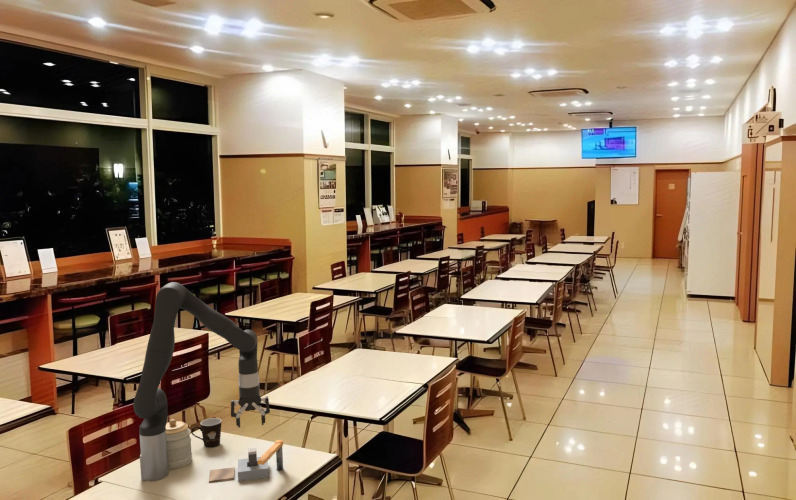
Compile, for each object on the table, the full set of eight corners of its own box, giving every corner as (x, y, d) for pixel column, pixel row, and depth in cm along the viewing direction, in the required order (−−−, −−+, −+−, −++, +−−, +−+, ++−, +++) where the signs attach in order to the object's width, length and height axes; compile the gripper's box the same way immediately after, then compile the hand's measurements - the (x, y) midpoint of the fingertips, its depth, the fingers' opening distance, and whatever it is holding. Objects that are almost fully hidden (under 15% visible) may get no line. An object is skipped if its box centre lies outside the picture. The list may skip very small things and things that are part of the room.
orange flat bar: (276, 443, 236) (276, 439, 236) (284, 443, 236) (284, 440, 235) (256, 464, 219) (256, 460, 218) (264, 464, 218) (264, 461, 218)
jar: (193, 466, 239) (190, 422, 238) (157, 472, 235) (154, 427, 233) (191, 453, 252) (189, 411, 250) (157, 458, 247) (154, 416, 245)
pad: (208, 482, 226) (208, 480, 226) (210, 471, 234) (210, 470, 234) (234, 479, 228) (234, 477, 228) (234, 468, 237) (234, 467, 236)
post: (276, 471, 234) (276, 447, 233) (276, 468, 236) (275, 444, 235) (283, 470, 234) (282, 446, 233) (282, 467, 237) (282, 444, 236)
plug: (249, 475, 231) (248, 452, 230) (249, 471, 234) (248, 448, 233) (257, 474, 232) (256, 451, 231) (257, 470, 235) (256, 447, 234)
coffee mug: (225, 440, 263) (224, 418, 262) (218, 449, 255) (216, 426, 254) (199, 440, 264) (198, 417, 263) (191, 448, 256) (189, 425, 255)
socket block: (238, 481, 226) (237, 472, 226) (238, 468, 237) (238, 459, 237) (268, 477, 229) (268, 468, 229) (267, 464, 240) (267, 456, 239)
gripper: (229, 388, 224) (231, 431, 226) (268, 384, 227) (270, 427, 229) (229, 382, 231) (231, 424, 233) (268, 378, 235) (270, 419, 236)
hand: (251, 425), depth 231 cm, fingers open, 8 cm apart
